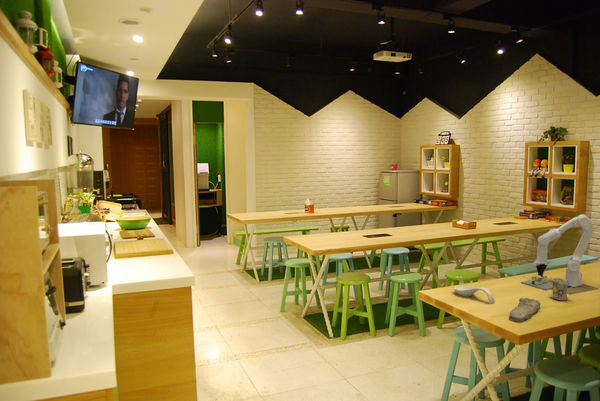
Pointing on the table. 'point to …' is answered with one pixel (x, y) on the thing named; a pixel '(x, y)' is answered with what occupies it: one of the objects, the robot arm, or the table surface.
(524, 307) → the elongated rock
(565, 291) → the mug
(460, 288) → the spoon rest
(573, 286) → the robot arm
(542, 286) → the mat
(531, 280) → the base
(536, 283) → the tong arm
